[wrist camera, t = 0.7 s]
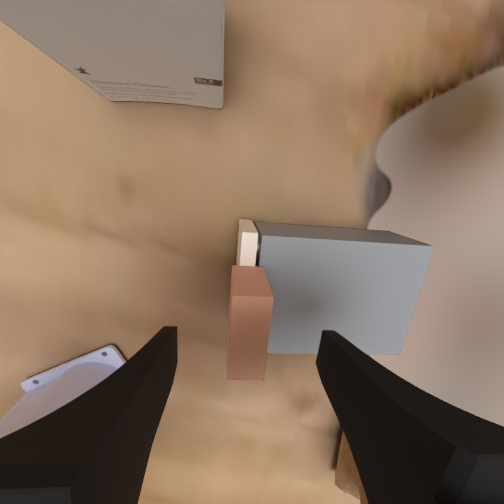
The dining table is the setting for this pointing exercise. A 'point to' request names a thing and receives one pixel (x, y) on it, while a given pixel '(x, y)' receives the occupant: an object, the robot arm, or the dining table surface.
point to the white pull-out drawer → (248, 309)
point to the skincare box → (131, 45)
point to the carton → (340, 286)
